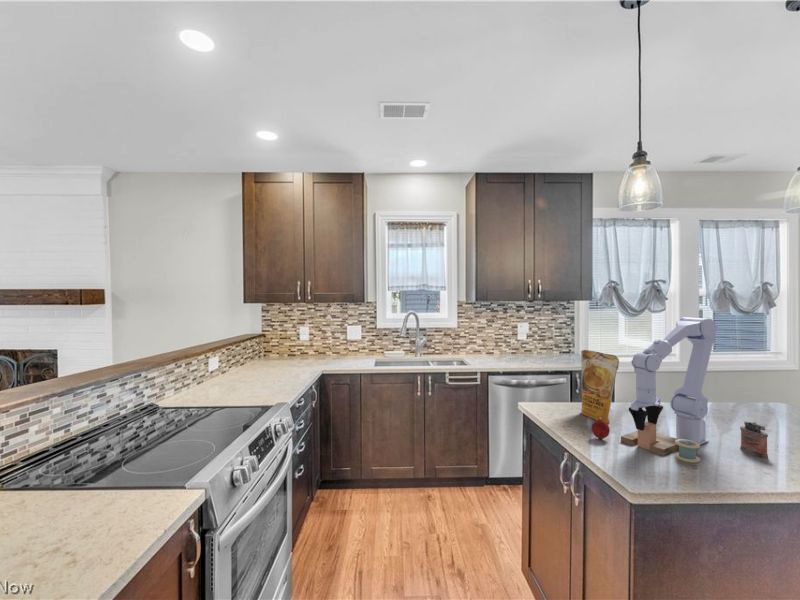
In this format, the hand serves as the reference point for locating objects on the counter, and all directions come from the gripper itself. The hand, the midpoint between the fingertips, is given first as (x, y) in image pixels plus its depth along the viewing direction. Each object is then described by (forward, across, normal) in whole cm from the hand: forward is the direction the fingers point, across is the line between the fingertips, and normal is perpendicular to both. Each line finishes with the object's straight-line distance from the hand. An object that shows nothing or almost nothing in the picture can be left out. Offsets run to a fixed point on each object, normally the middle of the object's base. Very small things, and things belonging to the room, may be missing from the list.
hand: (646, 427), depth 133 cm
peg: (+7, 0, 0) cm, 7 cm away
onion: (+7, -7, +12) cm, 15 cm away
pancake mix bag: (+7, +15, +28) cm, 32 cm away
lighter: (+7, +24, -21) cm, 33 cm away
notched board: (+6, +4, 0) cm, 8 cm away
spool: (+7, +1, -12) cm, 14 cm away
